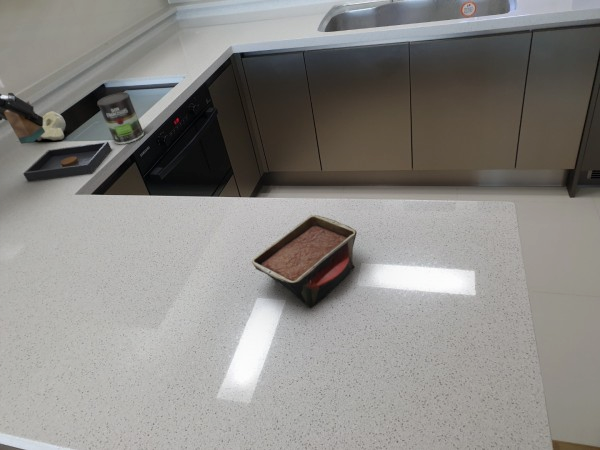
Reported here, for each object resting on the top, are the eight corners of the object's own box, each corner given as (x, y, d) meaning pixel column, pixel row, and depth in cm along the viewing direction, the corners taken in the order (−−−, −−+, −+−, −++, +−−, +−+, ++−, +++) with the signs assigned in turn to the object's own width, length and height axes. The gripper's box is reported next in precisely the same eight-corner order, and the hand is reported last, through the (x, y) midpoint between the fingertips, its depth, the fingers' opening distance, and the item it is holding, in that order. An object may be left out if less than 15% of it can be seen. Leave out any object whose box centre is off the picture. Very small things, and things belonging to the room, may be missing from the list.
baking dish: (257, 287, 89) (241, 253, 82) (322, 231, 95) (312, 195, 88) (307, 328, 79) (293, 295, 73) (375, 263, 86) (368, 227, 79)
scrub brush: (21, 143, 137) (3, 112, 131) (33, 133, 142) (16, 102, 137) (33, 142, 136) (15, 110, 130) (45, 132, 142) (28, 101, 136)
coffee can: (144, 139, 154) (128, 98, 146) (113, 147, 153) (95, 107, 145) (144, 128, 163) (129, 89, 154) (115, 136, 161) (98, 97, 153)
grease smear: (59, 167, 145) (57, 165, 144) (66, 160, 149) (65, 157, 148) (73, 165, 144) (72, 163, 144) (80, 158, 148) (79, 155, 148)
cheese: (80, 135, 173) (54, 108, 175) (72, 127, 166) (45, 99, 168) (47, 162, 170) (21, 134, 172) (38, 155, 163) (10, 126, 164)
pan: (27, 181, 142) (22, 173, 141) (52, 157, 155) (48, 149, 153) (91, 173, 139) (87, 164, 137) (111, 149, 152) (108, 141, 150)
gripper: (-61, 108, 118) (9, 138, 141) (-3, 99, 116) (60, 131, 139) (-60, 81, 119) (10, 115, 142) (-2, 71, 117) (60, 107, 140)
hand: (34, 122), depth 140 cm, fingers closed on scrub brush, 4 cm apart
